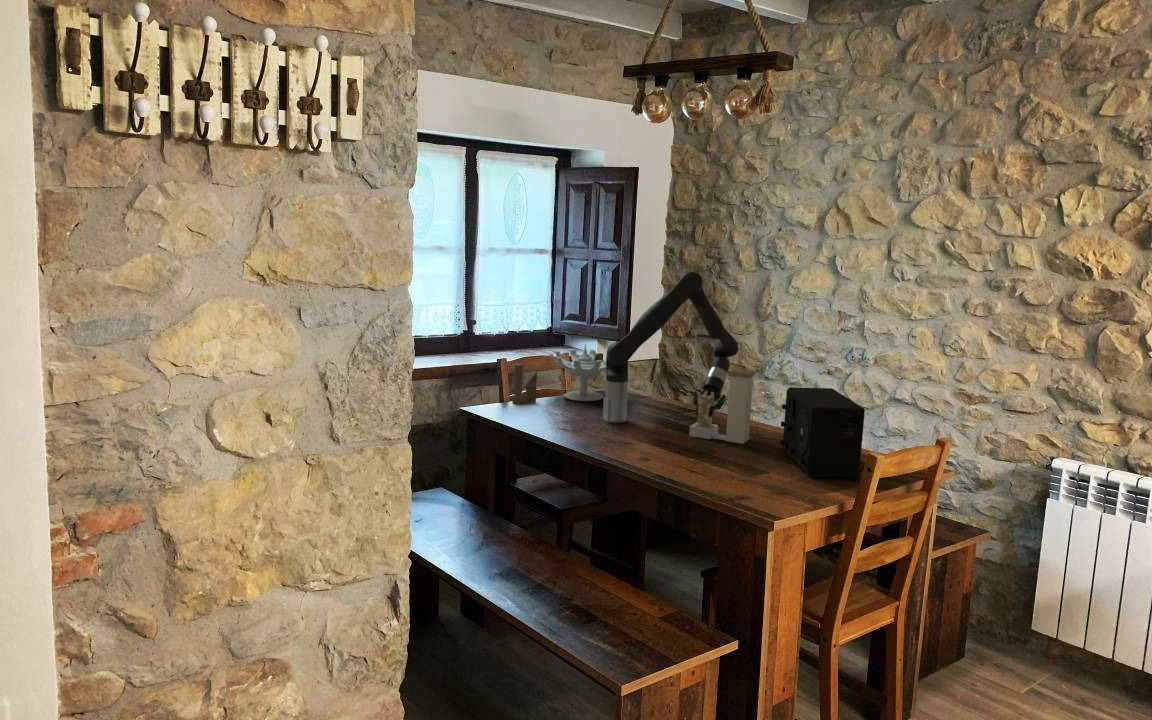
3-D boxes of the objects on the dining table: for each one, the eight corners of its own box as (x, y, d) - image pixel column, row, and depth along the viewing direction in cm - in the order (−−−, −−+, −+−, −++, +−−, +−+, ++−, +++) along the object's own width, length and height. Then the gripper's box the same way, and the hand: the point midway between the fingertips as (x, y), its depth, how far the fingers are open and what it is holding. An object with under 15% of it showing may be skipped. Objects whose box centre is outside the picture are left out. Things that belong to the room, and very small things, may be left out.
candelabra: (629, 405, 407) (631, 346, 402) (554, 406, 399) (555, 346, 395) (610, 390, 440) (612, 336, 435) (540, 391, 432) (542, 336, 427)
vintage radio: (774, 450, 338) (779, 385, 334) (825, 451, 338) (830, 386, 334) (802, 479, 301) (808, 407, 297) (859, 481, 301) (866, 408, 297)
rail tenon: (696, 430, 355) (698, 396, 353) (700, 428, 359) (702, 394, 357) (707, 432, 353) (709, 397, 351) (711, 430, 357) (713, 396, 355)
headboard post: (689, 435, 355) (693, 367, 350) (697, 431, 362) (701, 364, 358) (743, 444, 344) (748, 374, 340) (750, 439, 352) (755, 371, 347)
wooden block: (536, 402, 408) (537, 363, 405) (516, 404, 401) (517, 365, 398) (531, 400, 411) (532, 362, 408) (512, 403, 404) (512, 364, 401)
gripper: (696, 373, 362) (684, 407, 354) (730, 377, 356) (718, 412, 347) (700, 384, 368) (688, 418, 359) (733, 388, 361) (722, 423, 353)
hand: (703, 415), depth 353 cm, fingers closed on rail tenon, 4 cm apart
